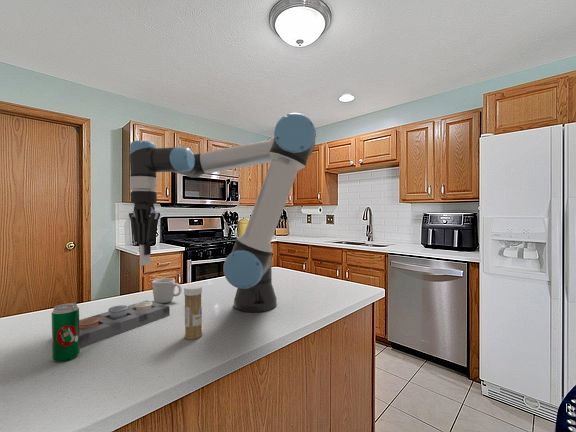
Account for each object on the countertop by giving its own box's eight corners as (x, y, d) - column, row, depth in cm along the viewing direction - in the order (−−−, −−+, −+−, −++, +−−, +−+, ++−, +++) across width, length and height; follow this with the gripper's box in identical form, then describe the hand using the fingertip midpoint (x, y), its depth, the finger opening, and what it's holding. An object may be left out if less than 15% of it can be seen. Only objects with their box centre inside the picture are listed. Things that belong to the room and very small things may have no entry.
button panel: (169, 315, 94) (169, 306, 94) (79, 348, 72) (78, 336, 72) (146, 309, 100) (146, 300, 100) (56, 337, 78) (56, 326, 78)
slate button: (131, 316, 87) (131, 306, 87) (114, 322, 83) (114, 311, 83) (122, 313, 90) (121, 304, 89) (105, 319, 85) (104, 309, 85)
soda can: (62, 352, 70) (61, 302, 69) (84, 351, 70) (83, 302, 70) (46, 363, 65) (45, 310, 64) (70, 362, 65) (69, 309, 65)
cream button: (155, 312, 94) (155, 303, 94) (141, 317, 90) (141, 307, 90) (146, 309, 96) (146, 300, 96) (131, 314, 92) (131, 305, 92)
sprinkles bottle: (201, 338, 77) (201, 288, 77) (183, 340, 76) (182, 289, 76) (202, 331, 81) (202, 283, 81) (185, 333, 80) (185, 284, 80)
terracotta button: (103, 330, 80) (103, 319, 80) (83, 336, 76) (83, 325, 76) (93, 326, 83) (93, 315, 83) (73, 332, 78) (73, 321, 78)
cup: (186, 298, 112) (185, 278, 112) (176, 305, 104) (175, 283, 104) (159, 298, 113) (159, 277, 113) (147, 304, 105) (147, 282, 105)
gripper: (167, 190, 93) (168, 264, 93) (142, 192, 99) (143, 261, 100) (145, 189, 86) (147, 268, 87) (120, 191, 93) (121, 265, 93)
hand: (145, 264), depth 93 cm, fingers closed
